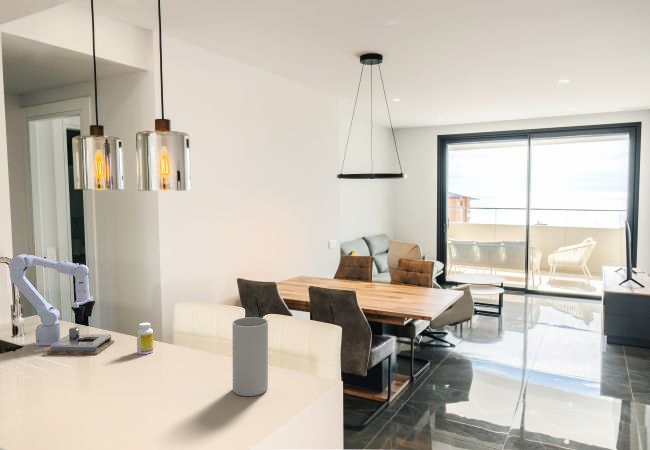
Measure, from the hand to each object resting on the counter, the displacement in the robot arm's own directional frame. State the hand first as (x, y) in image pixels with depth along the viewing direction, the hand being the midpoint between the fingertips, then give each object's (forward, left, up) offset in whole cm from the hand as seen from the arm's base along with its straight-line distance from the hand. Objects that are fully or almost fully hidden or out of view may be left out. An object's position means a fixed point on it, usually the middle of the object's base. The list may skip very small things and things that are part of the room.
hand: (84, 318), depth 221 cm
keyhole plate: (+4, -11, -9) cm, 15 cm away
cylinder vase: (+87, -55, -11) cm, 103 cm away
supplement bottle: (+35, -16, -11) cm, 40 cm away
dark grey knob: (+1, -11, -9) cm, 15 cm away
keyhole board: (+4, -11, -10) cm, 16 cm away
